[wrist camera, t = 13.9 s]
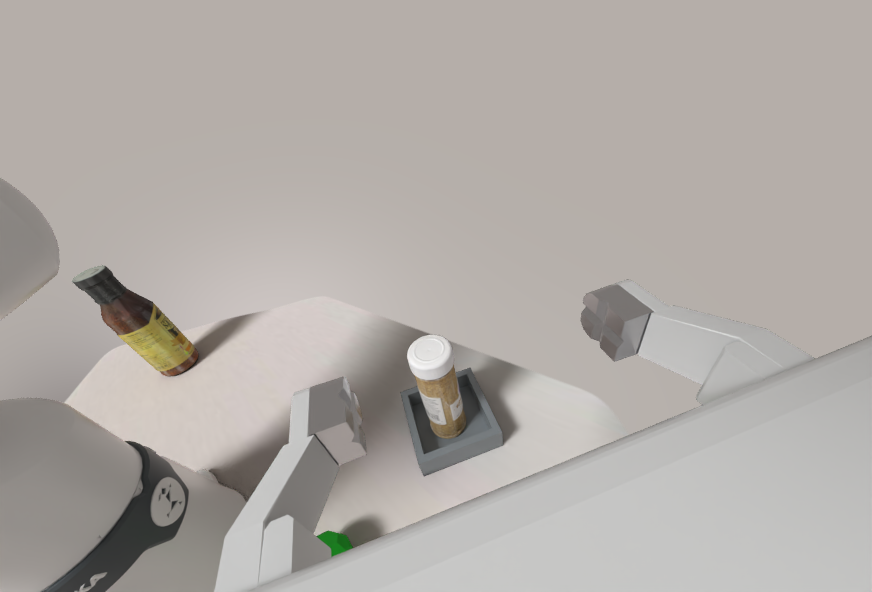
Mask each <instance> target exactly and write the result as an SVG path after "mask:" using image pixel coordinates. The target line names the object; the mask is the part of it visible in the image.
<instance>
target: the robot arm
mask: <svg viewBox="0 0 872 592" xmlns="http://www.w3.org/2000/svg"><path fill="white" fill-rule="evenodd" d="M59 262H60V261H59V248H58V244H57V240H56V237H55V235H54V233H53V230H52V228H51V227H50V225H49V223H48V222H47V220H46V219H45V217H44V216H43V214H42V213H41V212H40V211H39V209H38V208H37V207H36V206H35V205H34V204H33V203H32V202H31V201H30V200H29V199H28V198H27V197H26V196H25V195H23V194H22V193H21V192H20V191H19V190H17V189H16V188H15V187H13V186H12V185H10V184H9V183H7V182H6V181H4V180H3V179H1V178H0V320H2V319H3V318H4V317H5V316H7V315H8V314H9V313H11V312H12V311H13V310H14V309H16V308H17V307H18V306H20V305H21V304H22V303H24V302H25V301H26V300H27V299H29V298H30V297H31V296H32V295H33V294H34V293H36V292H37V291H38V290H39V289H40V288H42V287H43V286H44V285H45V284H46V283H47V282H49V281H50V280H51V279H52V278H53V277H55V276H56V275H57V273H58V270H59ZM583 303H584V305H585V306H586V308H585V309H584V310H583V311H582V313H581V323H582V326H583V329H584V330H585V332H586V333H587V335H588V336H589V337H590V338H591V339H594V340H597V341H600V348H601V349H602V350H603V351H604V352H605V353H606V354H607V355H608V356H609V357H610V358H611V359H612V360H613V361H618V360H621V359H623V358H626V357H629V356H632V355H635V354H638V356H640V357H643V358H645V359H647V360H649V361H651V362H653V363H656V364H658V365H660V366H662V367H665V368H667V369H669V370H671V371H673V372H675V373H678V374H680V375H682V376H684V377H686V378H688V379H691V380H693V381H695V382H697V383H699V384H701V385H702V387H701V389H700V390H699V392H698V394H697V398H696V400H697V401H698V402H699V403H700V404H702V406H699V407H697V408H694V409H692V410H689V411H687V412H685V413H682V414H680V415H677V416H675V417H673V418H670V419H667V420H665V421H663V422H660V423H658V424H656V425H653V426H650V427H648V428H645V429H643V430H641V431H638V432H636V433H633V434H631V435H628V436H626V437H623V438H621V439H619V440H616V441H614V442H611V443H609V444H606V445H604V446H601V447H599V448H597V449H594V450H592V451H589V452H587V453H584V454H582V455H579V456H577V457H575V458H572V459H570V460H567V461H565V462H562V463H560V464H557V465H555V466H553V467H550V468H548V469H545V470H543V471H540V472H538V473H535V474H533V475H531V476H528V477H526V478H523V479H521V480H518V481H516V482H513V483H511V484H509V485H506V486H504V487H501V488H499V489H496V490H494V491H491V492H489V493H487V494H484V495H482V496H479V497H477V498H474V499H472V500H470V501H467V502H465V503H462V504H460V505H457V506H455V507H452V508H450V509H448V510H445V511H443V512H440V513H438V514H435V515H433V516H430V517H428V518H426V519H423V520H421V521H418V522H416V523H413V524H411V525H409V526H406V527H404V528H401V529H399V530H396V531H394V532H391V533H389V534H387V535H384V536H382V537H379V538H377V539H374V540H372V541H369V542H367V543H365V544H362V545H360V546H357V547H355V548H352V549H350V550H348V551H345V552H343V553H340V554H338V555H335V556H333V557H331V548H330V547H329V546H327V545H326V544H325V543H324V542H323V541H321V540H320V539H319V538H318V537H316V536H315V535H314V534H313V533H314V531H315V528H316V526H317V523H318V521H319V518H320V516H321V513H322V511H323V508H324V506H325V503H326V500H327V498H328V495H329V493H330V490H331V488H332V485H333V483H334V480H335V478H336V475H337V473H338V470H339V466H340V465H342V464H345V463H347V462H350V461H352V460H355V459H357V458H359V457H362V456H364V455H367V452H366V444H365V436H364V433H363V431H362V429H361V427H360V425H361V423H362V421H363V420H362V413H361V409H360V405H359V402H358V399H357V397H356V395H355V393H354V392H352V391H350V385H349V382H348V381H347V379H346V377H341V378H338V379H335V380H332V381H329V382H326V383H322V384H319V385H316V386H313V387H310V388H307V389H304V390H301V391H298V392H295V393H294V394H293V397H292V403H291V417H290V431H289V444H286V445H284V446H283V447H282V449H281V450H280V452H279V453H278V455H277V456H276V458H275V459H274V461H273V463H272V464H271V466H270V467H269V469H268V470H267V472H266V474H265V475H264V477H263V478H262V480H261V481H260V483H259V484H258V486H257V488H256V489H255V491H254V492H253V494H252V495H251V497H250V499H249V500H248V502H246V501H245V499H244V498H243V496H242V495H241V494H240V493H238V492H237V491H235V490H233V489H231V488H228V487H225V486H222V485H220V484H219V483H218V481H217V479H216V477H215V476H214V475H213V474H212V473H211V472H209V471H207V470H199V471H197V472H195V471H193V470H191V469H189V468H187V467H185V466H183V465H181V464H179V463H177V462H175V461H172V460H170V459H168V458H166V457H162V456H159V455H157V454H156V452H155V451H154V450H152V449H150V448H148V447H145V446H142V445H140V444H138V443H136V442H131V441H123V440H122V439H120V438H119V437H117V436H115V435H114V434H112V433H111V432H109V431H108V430H106V429H105V428H103V427H102V426H100V425H99V424H97V423H95V422H94V421H92V420H91V419H89V418H88V417H86V416H85V415H83V414H82V413H80V412H78V411H77V410H75V409H74V408H72V407H71V406H69V405H67V404H65V403H62V402H59V401H55V400H50V399H42V398H18V399H9V400H2V401H0V592H872V336H870V337H868V338H865V339H863V340H861V341H858V342H856V343H853V344H851V345H848V346H846V347H843V348H841V349H838V350H836V351H834V352H831V353H829V354H826V355H824V356H821V357H819V358H817V359H815V358H814V357H812V356H810V355H809V354H807V353H805V352H804V351H802V350H801V349H799V348H797V347H795V346H794V345H792V344H791V343H789V342H787V341H786V340H784V339H782V338H781V337H779V336H777V335H776V334H774V333H773V332H771V331H769V330H768V329H765V328H761V327H757V326H754V325H750V324H746V323H742V322H738V321H734V320H730V319H726V318H722V317H718V316H714V315H710V314H706V313H702V312H698V311H694V310H691V309H687V308H683V307H679V306H675V305H673V306H670V307H669V306H668V305H666V304H665V303H664V302H662V301H661V300H660V299H658V298H657V297H655V296H654V295H652V294H651V293H649V292H648V291H646V290H645V289H644V288H642V287H641V286H640V285H638V284H637V283H635V282H634V281H632V280H629V279H627V280H624V281H621V282H618V283H615V284H613V285H609V286H606V287H604V288H601V289H598V290H595V291H592V292H590V293H587V294H586V295H585V296H584V299H583Z"/></svg>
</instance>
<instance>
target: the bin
mask: <svg viewBox="0 0 872 592" xmlns="http://www.w3.org/2000/svg"><path fill="white" fill-rule="evenodd" d="M455 374H456V377H457V381H458V385H459V390H460V394H461V399H462V403H463V410H464V413H465V415H466V426H465V428H464V430H463V431H462V432H461V434H459V435H458V436H456V437H455V438H449V439H444V438H441V437H439V436H437V435H436V434H435V433H434V432H433V430H432V429H431V426H430V419H429V417H428V415H427V412H426V410H425V407H424V404H423V401H422V398H421V395H420V392H419V389H418V386H417V387H414V388H411V389H408V390H406V391H403V392H400V393H401V396H402V400H403V404H404V408H405V412H406V416H407V420H408V424H409V428H410V432H411V436H412V440H413V444H414V448H415V452H416V456H417V460H418V464H419V466H420V469H421V471H422V473H423V475H424V476H426V475H429V474H431V473H434V472H436V471H439V470H442V469H444V468H447V467H449V466H452V465H454V464H457V463H459V462H462V461H464V460H467V459H470V458H472V457H475V456H477V455H480V454H482V453H485V452H487V451H490V450H492V449H495V448H498V447H500V446H503V437H502V431H501V429H500V427H499V425H498V423H497V421H496V419H495V417H494V415H493V413H492V411H491V409H490V407H489V405H488V403H487V401H486V399H485V397H484V395H483V393H482V390H481V388H480V386H479V384H478V382H477V380H476V378H475V376H474V374H473V372H472V370H471V368H467V369H465V370H462V371H459V372H456V373H455Z"/></svg>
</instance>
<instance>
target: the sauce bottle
mask: <svg viewBox="0 0 872 592" xmlns="http://www.w3.org/2000/svg"><path fill="white" fill-rule="evenodd" d="M72 282H73V283H74V284H75V285H76V286H78V288H80V289H81V290H83V291H85V292H86V293H87V294H89V295H90V296H91V297H92V298H93V299H94V300H95V302H96V303H98V304H100V306H101V315H102V318H103V320H104V322H105V323H106V324H107V325H108V326H109V327H110V328H112V329H113V330H114V331H115V332H116V333H117V335H118V336H119V337H120V338H121V339H122V340H123V341H125V342H126V343H127V344H128V345H129V346H130V347H131V348H132V349H134V350H135V351H136V352H137V353H138V354H139V355H140V356H141V357H143V358H144V359H145V360H146V361H147V362H148V363H149V364H150V365H152V366H153V367H154V368H155V369H156V370H157V371H160V372H161V373H162V374H163V375H165V376H175V375H178V374H180V373H182V372H184V371H185V370H187V369H188V368H190V367H191V366H192V365H193V364H194V363H195V361H196V360H197V358H198V351H197V350H196V349H195V348H194V346H193V344H192V343H191V342H190V341H189V340H188V339H187V338H186V337H185V336H184V335H183V334H182V333H181V332H180V331H179V330H178V328H177V327H176V326H175V325H174V324H173V323H172V322H171V321H170V320H169V319H168V318H167V317H166V316H165V315H164V314H163V313H162V312H161V311H160V310H159V308H158V307H157V306H156V305H155V304H154V303H153V302H151V301H149V300H148V299H146V298H144V297H142V296H139V295H137V294H136V293H134V292H132V291H130V290H128V289H126V287H124V286H123V285H122V284H121V283H120V282H119V281H118V280H117V279H116V278H115V277H114V276H113V273H112V272H111V271H110V270H109V269H108V268H107V267H106V266H103V265H102V266H97V267H94V268H91V269H88V270H86V271H84V272H82V273H80V274H79V275H77V276H76V277H75V278H73V280H72Z"/></svg>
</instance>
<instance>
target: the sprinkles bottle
mask: <svg viewBox="0 0 872 592" xmlns="http://www.w3.org/2000/svg"><path fill="white" fill-rule="evenodd" d="M407 359H408V363H409V366H410V369H411V371H412V373H413V374H414V376H415V378H416V381H417V385H418V389H419V392H420V395H421V398H422V401H423V404H424V407H425V410H426V412H427V415H428V417H429V419H430V426H431V429H432V430H433V432H434V433H435V434H436V435H437V436H439V437H441V438H444V439H449V438H455V437H456V436H458V435H459V434H461V432H462V431H463V430H464V428H465V426H466V415H465V413H464V410H463V403H462V399H461V394H460V390H459V385H458V381H457V377H456V374H455V369H454V354H453V350H452V346H451V344H450V342H449V341H448V340H447V339H446V338H444V337H442V336H439V335H426V336H422V337H420V338H418V339H417V340H415V341H414V342H413V343H412V344H411V345H410V347H409V349H408V352H407Z"/></svg>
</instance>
